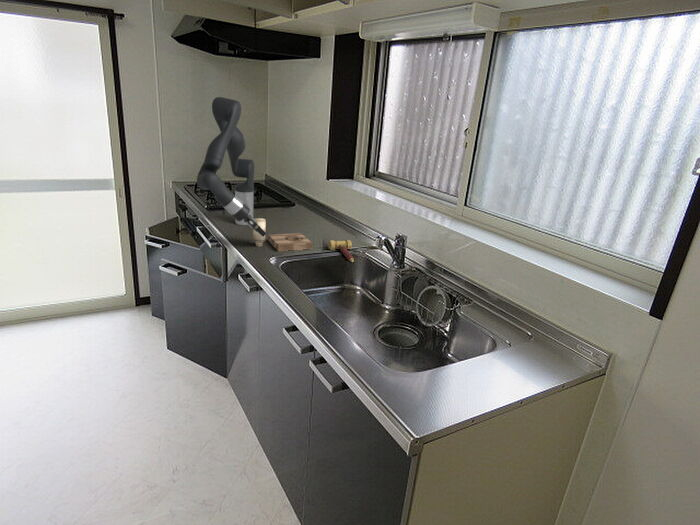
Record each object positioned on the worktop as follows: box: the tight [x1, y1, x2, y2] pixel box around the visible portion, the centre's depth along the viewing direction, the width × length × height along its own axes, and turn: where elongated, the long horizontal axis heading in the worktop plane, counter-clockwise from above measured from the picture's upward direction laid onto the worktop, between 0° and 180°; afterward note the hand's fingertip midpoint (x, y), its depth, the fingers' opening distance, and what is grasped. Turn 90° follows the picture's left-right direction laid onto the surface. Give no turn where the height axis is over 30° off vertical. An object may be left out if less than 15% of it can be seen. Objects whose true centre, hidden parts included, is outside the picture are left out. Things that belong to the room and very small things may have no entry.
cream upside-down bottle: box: [252, 217, 267, 247], centre depth 201 cm, size 6×6×12 cm
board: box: [267, 232, 313, 252], centre depth 207 cm, size 16×16×3 cm
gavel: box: [328, 239, 355, 263], centre depth 200 cm, size 21×5×10 cm
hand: (262, 232), depth 201 cm, fingers open, 7 cm apart
